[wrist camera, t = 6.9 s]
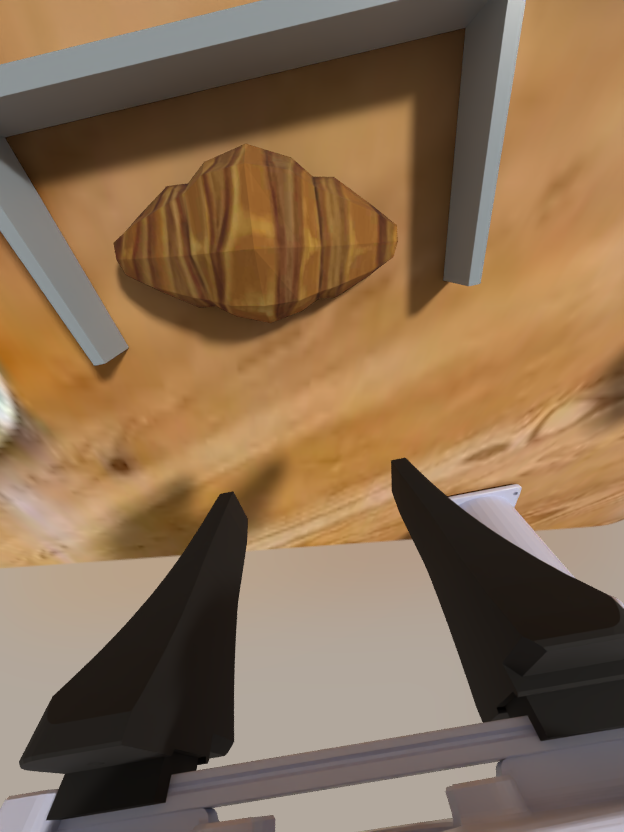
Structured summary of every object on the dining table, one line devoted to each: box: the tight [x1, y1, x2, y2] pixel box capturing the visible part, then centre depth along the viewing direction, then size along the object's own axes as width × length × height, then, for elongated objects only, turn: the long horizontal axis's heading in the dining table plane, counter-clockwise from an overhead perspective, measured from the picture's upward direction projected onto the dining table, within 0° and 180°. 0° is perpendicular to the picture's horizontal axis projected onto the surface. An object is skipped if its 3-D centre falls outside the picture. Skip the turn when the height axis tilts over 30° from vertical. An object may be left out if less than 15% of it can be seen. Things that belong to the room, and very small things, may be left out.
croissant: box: [114, 144, 398, 323], centre depth 12 cm, size 14×7×5 cm, turn 93°
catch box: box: [0, 0, 526, 366], centre depth 12 cm, size 10×20×2 cm, turn 100°
